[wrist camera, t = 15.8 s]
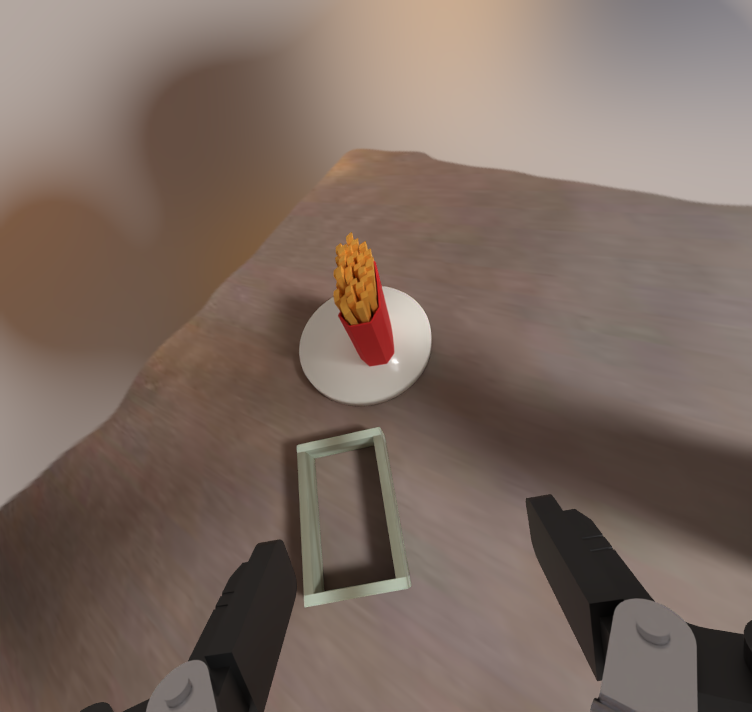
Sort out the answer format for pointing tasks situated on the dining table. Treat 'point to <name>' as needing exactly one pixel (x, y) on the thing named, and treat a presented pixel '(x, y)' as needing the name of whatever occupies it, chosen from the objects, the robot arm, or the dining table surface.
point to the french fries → (362, 303)
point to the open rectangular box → (311, 525)
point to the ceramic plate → (345, 367)
